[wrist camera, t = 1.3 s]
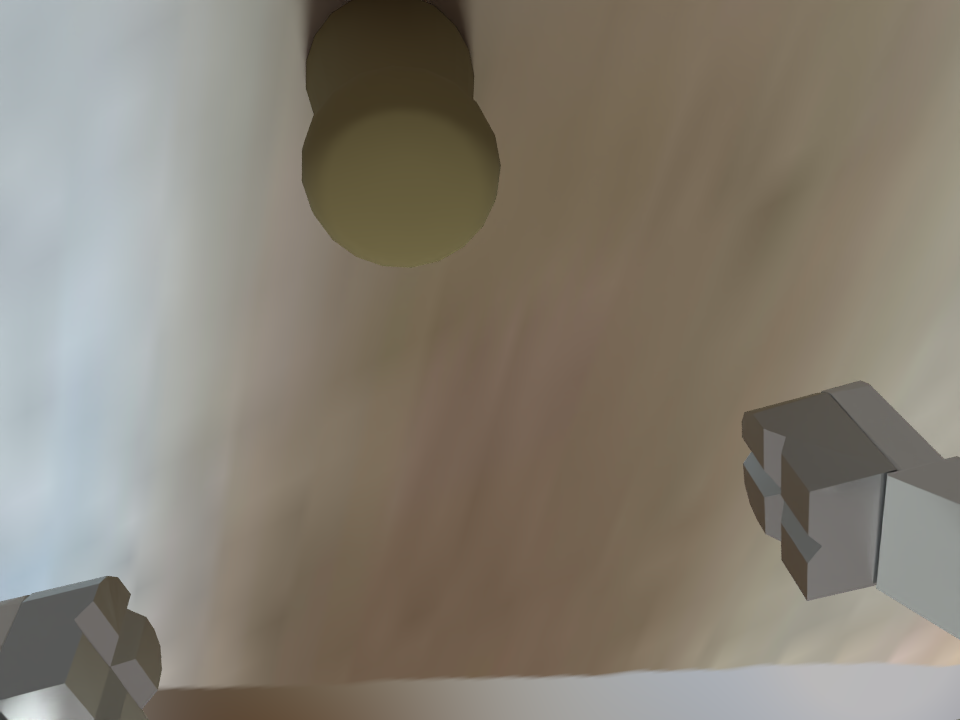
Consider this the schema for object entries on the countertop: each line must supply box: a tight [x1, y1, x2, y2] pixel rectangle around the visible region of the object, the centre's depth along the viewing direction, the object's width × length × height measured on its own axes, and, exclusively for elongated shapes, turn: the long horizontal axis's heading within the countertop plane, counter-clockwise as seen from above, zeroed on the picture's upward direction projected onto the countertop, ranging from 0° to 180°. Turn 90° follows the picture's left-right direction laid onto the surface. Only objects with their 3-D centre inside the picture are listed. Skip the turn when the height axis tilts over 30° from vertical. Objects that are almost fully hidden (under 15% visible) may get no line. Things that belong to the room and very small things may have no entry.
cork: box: [302, 0, 501, 268], centre depth 24 cm, size 6×6×11 cm
